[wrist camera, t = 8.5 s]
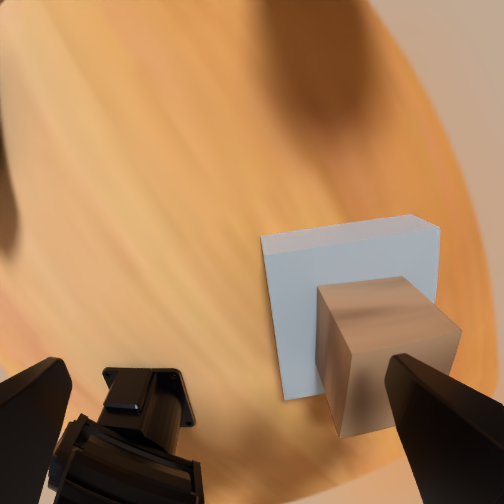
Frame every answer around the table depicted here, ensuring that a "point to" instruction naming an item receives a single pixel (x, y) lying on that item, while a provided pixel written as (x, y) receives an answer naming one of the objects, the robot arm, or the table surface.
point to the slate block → (337, 279)
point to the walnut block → (375, 346)
